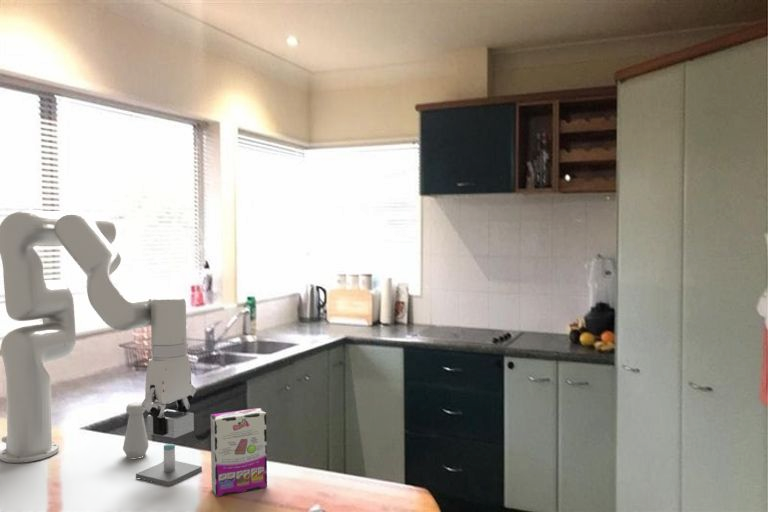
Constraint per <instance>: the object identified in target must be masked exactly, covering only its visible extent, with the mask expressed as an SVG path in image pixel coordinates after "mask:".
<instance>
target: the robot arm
mask: <svg viewBox="0 0 768 512" xmlns="http://www.w3.org/2000/svg"><path fill="white" fill-rule="evenodd" d="M116 236H117V229H116V226H115V224H114V222H113V220H112V219H111V218H109V217H108V216H107V215H104V214H103V213H91V212H66V211H65V212H64V211H49V210H48V211H47V210H46V211H45V210H22V211H16V212H13V213H10V214H9V215H7V216H6V217H5V218H4V219H3V220H2V222H1V223H0V258H1V263H2V271H3V272H2V273H3V274H2V275H3V288H4V300H5V308H6V309H5V310H6V313H7V315H8V317H9V318H10V319H11V320H13V321H17V322H26V321H27V322H28V321H37V320H41V319H42V323H41V324H32V325H28V326H27V325H26V326H21V327H18V328H15V329H13V330H10V331H9V332H8V333H7V334H5V336H4V337H3V339H2V340H1V344H0V351H1V358H2V361H3V367H4V371H5V381H6V382H5V383H6V384H5V387H6V425H7V426H6V432H7V433H6V434H7V435H6V436H3V437H2V438H1V442H2V443H5V448H4V449H3V450H2V451H1V452H0V460H1V461H3V462H5V463H14V464H18V463H29V462H30V463H31V462H36V461H40V460H43V459H44V460H45V459H46V458H49V457H52V456H54V455H56V454H57V453H58V451H59V449H60V447H59V444H58V443H57V442H53V441H52V438H53V437H52V435H53V434H52V428H53V427H52V380H51V377H50V374H49V373H48V371H47V369H46V368H45V365H44V363H47V362H50V361H56V360H59V359H62V358H66V357H68V355H71V353H72V352H73V351H74V349H75V345H76V340H77V339H76V321H75V305H74V298H73V294H72V291H71V290H70V288H69V287H68V286H67V284H65V283H64V282H62V281H60V280H57V279H56V280H55V279H52V280H51V279H50V280H49V279H48V280H45V277H44V276H45V275H44V265H43V262H42V259H41V257H40V255H39V254H38V253H37V251H36V250H35V249H34V247H38V246H39V247H40V246H41V247H44V246H45V247H46V246H48V247H50V246H52V247H53V246H63V248H65V250H66V252H68V254H69V255H70V257H72V259H73V260H74V262H75V263H76V264H77V265H78V266H79V268H80V269H81V270H82V271H83V272H84V274H85V275H86V293H87V297H88V301H89V304H90V305H91V306H92V308H93V310H94V311H95V312H96V314H97V315H98V317H100V319H101V320H102V321H103V322H104V323H105V324H106V325H107V326H108V327H110V328H111V329H113V330H115V331H118V332H126V331H127V332H128V331H131V330H136V329H143V328H147V327H150V333H151V334H150V335H151V336H150V338H151V340H150V341H151V345H150V346H151V347H150V348H151V349H150V350H151V358H149V359H148V363H147V368H146V374H145V388H144V391H145V393H144V397H145V398H144V399H143V401H142V402H141V403H142V407H143V408H144V409H145V411H146V412H147V413H148V414H149V415H150V416H151V417H153V433H154V434H156V435H155V436H159V435H162V436H161V437H164V436H163V435H165V434H166V428H165V419H166V418H165V417H163V415H164V411H165V410H166V406H167V405H168V404H171V403H174V402H175V405H176V407H177V408H175V409H174V410H176V411H183V412H188V410H189V409H190V407H191V405H190V404H191V402H192V400H193V397H194V395H195V394H196V392H197V388H196V386H194V385H193V383H192V373H191V365H190V363H191V362H190V358H189V355H188V352H187V351H188V349H187V348H188V347H189V343H188V342H187V341H188V340H187V304H186V303H187V302H186V299H185V298H184V297H182V296H179V295H164V296H162V295H157V294H153V293H145V294H136V295H135V294H134V295H128V296H123V294H121V293H120V291H119V290H118V288H117V287H116V286H115V285H114V283H113V281H112V280H111V276H110V275H112V274H113V273H114V272H115V271H116V270H117V269H118V268H119V266H120V264H121V260H122V257H121V255H120V254H119V253H118V251H117V250H116V248H115V247H114V246H113V245H112V244H113V242H114V241H115V239H116ZM154 434H153V435H154Z"/></svg>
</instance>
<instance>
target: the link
mask: <svg viewBox="0 0 768 512" xmlns="http://www.w3.org/2000/svg"><path fill="white" fill-rule="evenodd" d="M146 417H147V419H146V420H147V435H149V434H150V435H155V436H157V435H156V434H154V433H153V417H151V416H150V414H149V415H147V416H146ZM163 417H165V418H166V419H165V428H166V434H165V435H163V436H162V435H158V436H160V437H165V438H171V439H176V438H179V437H181V436H183V435H186V434H188V433H191V432H194V430H195V414H194V412H189V411H187V412H183V411H176V410H175V409H169V408H165V411H164V415H163Z"/></svg>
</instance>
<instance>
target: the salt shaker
mask: <svg viewBox="0 0 768 512" xmlns="http://www.w3.org/2000/svg"><path fill="white" fill-rule="evenodd" d="M125 412H126V414H127V415H129V416H128V419H127V426H126V431H125V436H124V442H123V447H122V449H123V452H124V453H125V455H126V457H127V459H128V458H137V459H139V458H138V457H142V456H143V457H145V456H146V453H147V451H148V448H149V440H148V433H147V430H146V425H145V424H146V423H145V418H144V413H145V412H146V410H145V409H144V408H143V407H142V402H138V401H137V402H131V403H128V405H127V406H126V411H125ZM143 457H142V458H143Z"/></svg>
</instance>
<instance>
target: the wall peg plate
mask: <svg viewBox="0 0 768 512" xmlns="http://www.w3.org/2000/svg"><path fill="white" fill-rule="evenodd" d="M175 454H176V444H173V443H169V444H164V445H163V462H160V463H157V464H156V465H153V466H151V467H149V468H146V469H143V470H141V471H139V472H136V473H135V478H136V479H137V478H140V479H139V480H141V479H145V480H144V481H146V480H149V481H148V482H150V481H152V482H151V483H154V482H155V483H154V484H158V483H159V484H158V485H162V484H163V486H166V487H171V486H173V485H175V484H177V483H180V482H181V481H184V480H185V479H188V478H190V477H192V476H194V475H196V474H198V473H200V472H202V471H203V467H202V466H200V465H196V464H191V463H188V462H183V461H179V460H176V455H175Z"/></svg>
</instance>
